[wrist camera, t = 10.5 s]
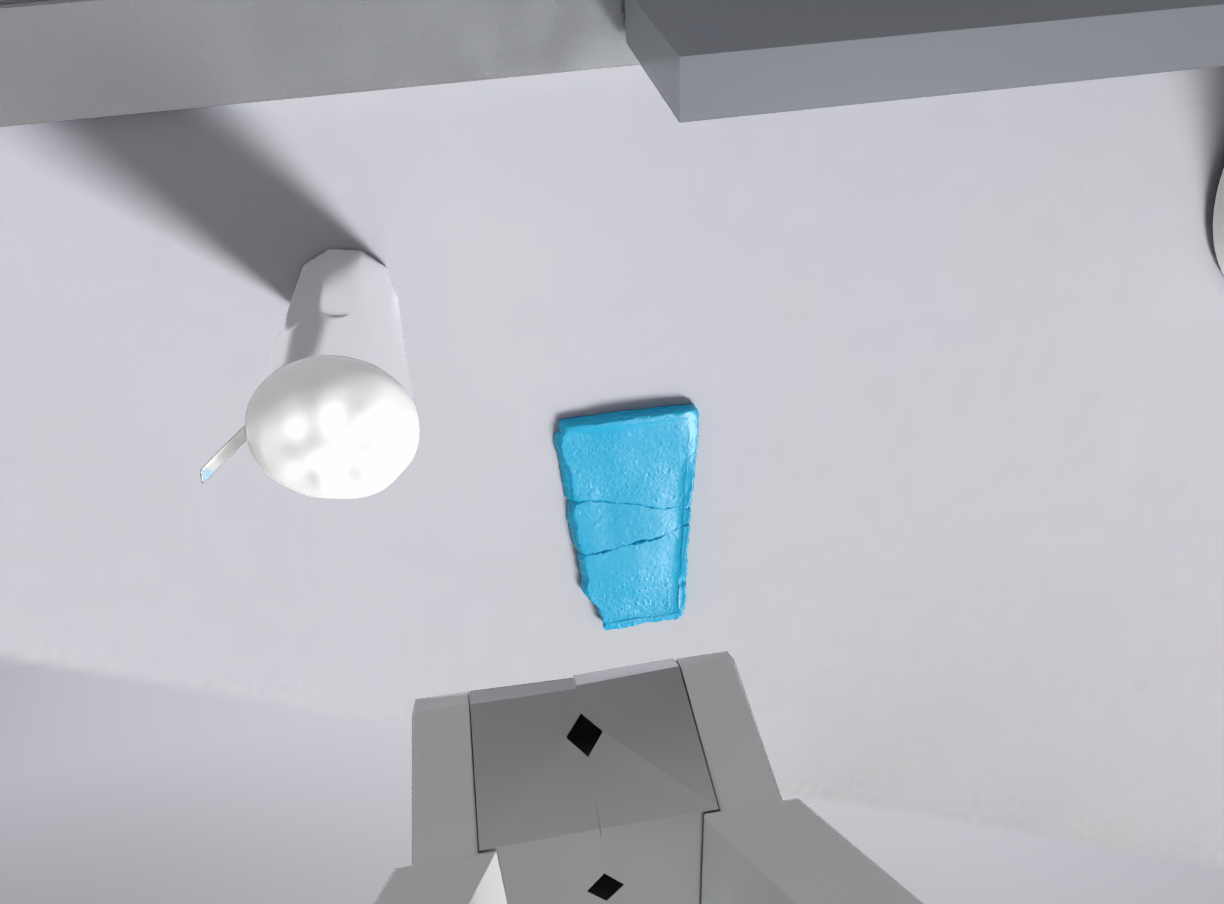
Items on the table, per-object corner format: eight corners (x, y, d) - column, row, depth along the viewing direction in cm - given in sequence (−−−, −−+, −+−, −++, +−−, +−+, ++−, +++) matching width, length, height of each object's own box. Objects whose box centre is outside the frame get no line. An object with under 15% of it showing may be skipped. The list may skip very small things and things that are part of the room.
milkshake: (243, 222, 31) (189, 400, 23) (417, 231, 32) (422, 403, 24) (255, 347, 33) (210, 544, 25) (415, 351, 34) (419, 542, 27)
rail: (1257, -102, 30) (1269, -99, 29) (1224, 3, 32) (1234, 7, 31) (-172, 18, 25) (-181, 23, 25) (-114, 132, 27) (-122, 138, 27)
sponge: (558, 635, 44) (687, 631, 44) (550, 418, 37) (704, 415, 37) (558, 610, 45) (683, 607, 45) (550, 396, 38) (699, 393, 38)
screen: (1267, -70, 30) (1463, -19, 24) (1249, -17, 31) (1434, 43, 25) (624, -13, 28) (679, 56, 22) (625, 42, 28) (679, 122, 23)
